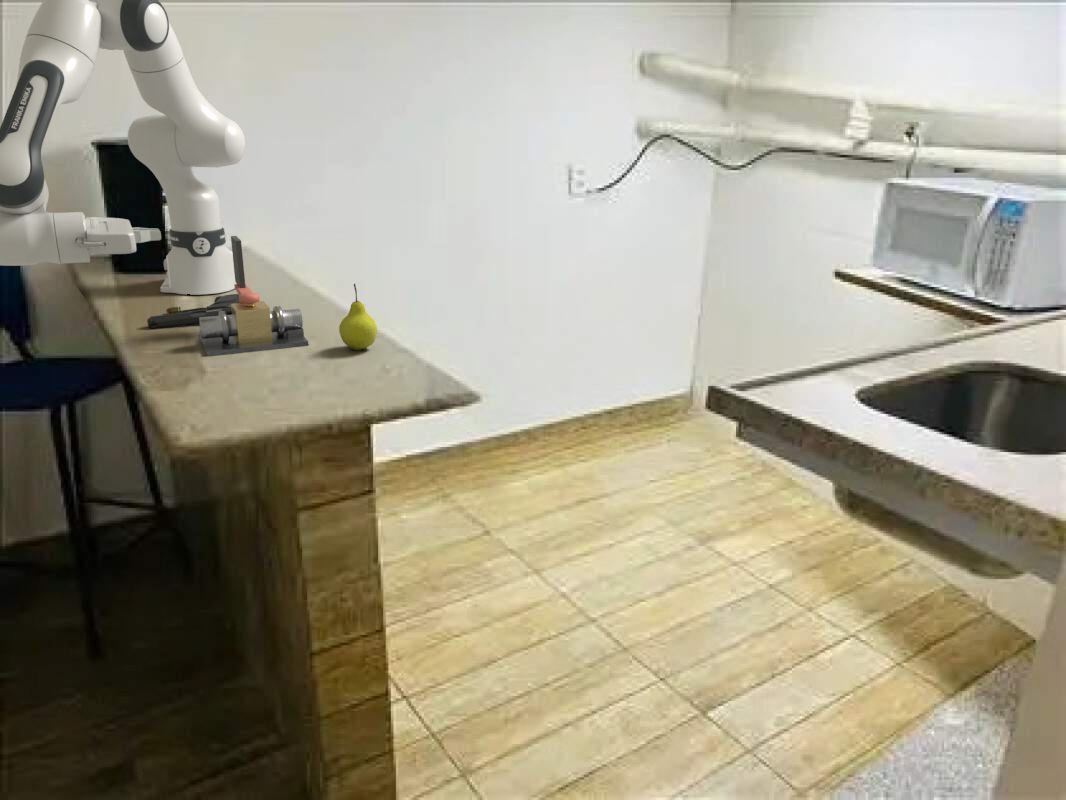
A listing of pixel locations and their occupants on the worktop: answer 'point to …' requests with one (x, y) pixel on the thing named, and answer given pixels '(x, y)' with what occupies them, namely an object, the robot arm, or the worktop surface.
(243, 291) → the lever
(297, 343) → the valve
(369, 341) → the fruit
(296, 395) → the worktop surface
